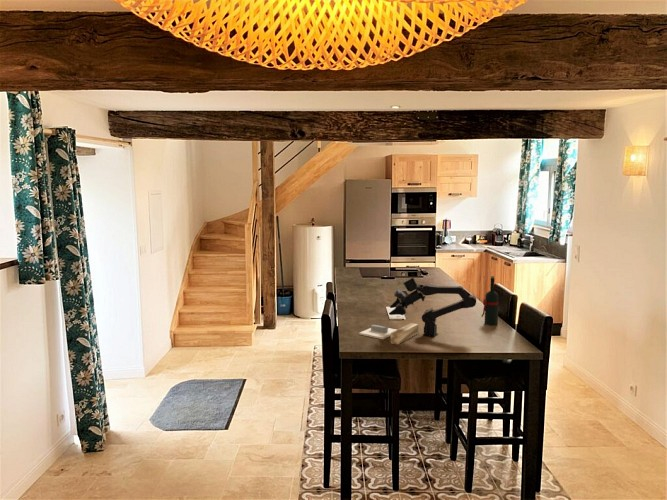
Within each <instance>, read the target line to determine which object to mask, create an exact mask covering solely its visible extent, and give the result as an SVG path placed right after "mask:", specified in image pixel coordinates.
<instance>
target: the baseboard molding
mask: <svg viewBox="0 0 667 500" xmlns="http://www.w3.org/2000/svg"><path fill="white" fill-rule="evenodd" d="M395 308H396V307H394V308H390V306H385V309H386V312H387V315H388V318H389V320H390V321H406V320H407V317H406V316H405V314H404V315H389V313H390V312H391V311H392V310H394V309H395ZM402 319H404V320H402Z"/></svg>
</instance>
